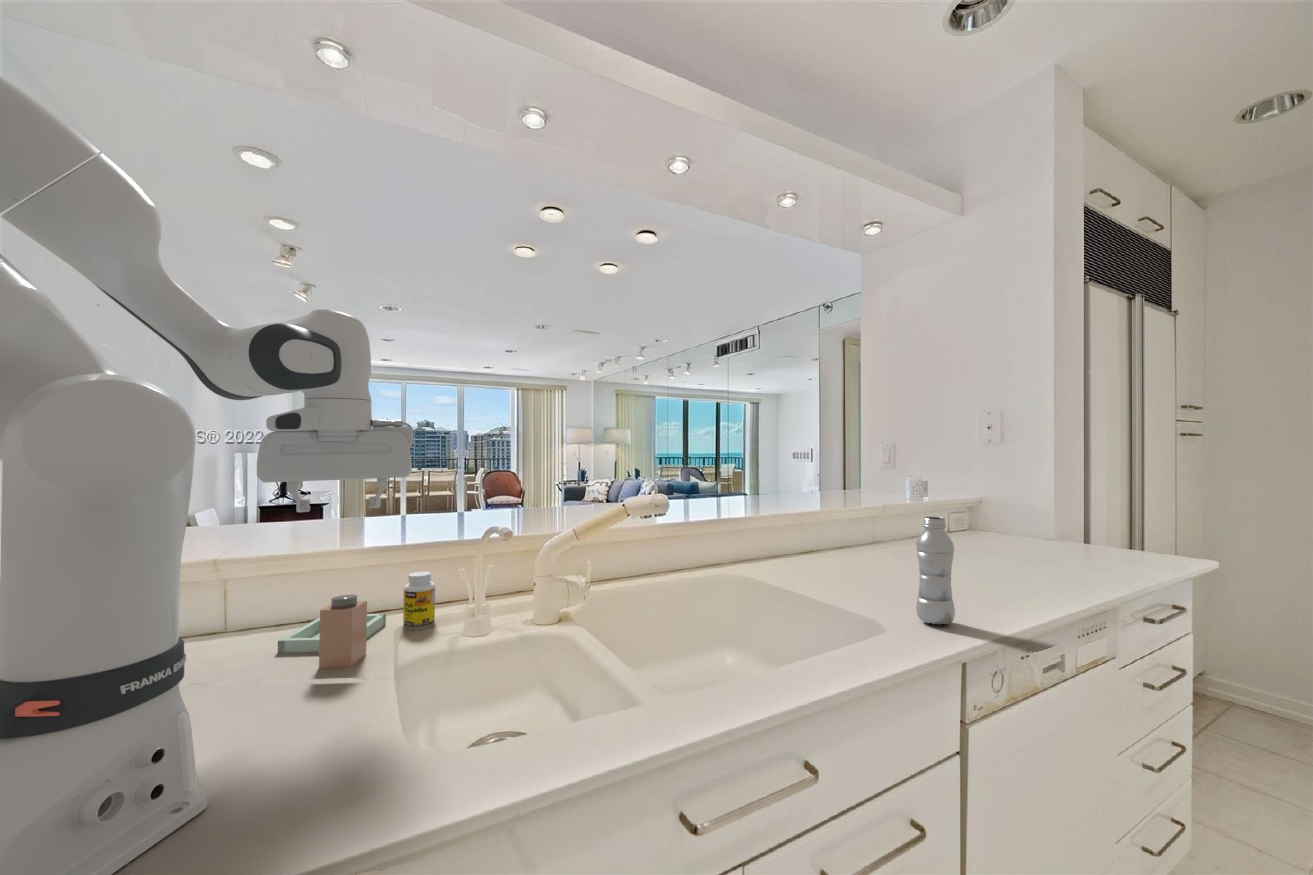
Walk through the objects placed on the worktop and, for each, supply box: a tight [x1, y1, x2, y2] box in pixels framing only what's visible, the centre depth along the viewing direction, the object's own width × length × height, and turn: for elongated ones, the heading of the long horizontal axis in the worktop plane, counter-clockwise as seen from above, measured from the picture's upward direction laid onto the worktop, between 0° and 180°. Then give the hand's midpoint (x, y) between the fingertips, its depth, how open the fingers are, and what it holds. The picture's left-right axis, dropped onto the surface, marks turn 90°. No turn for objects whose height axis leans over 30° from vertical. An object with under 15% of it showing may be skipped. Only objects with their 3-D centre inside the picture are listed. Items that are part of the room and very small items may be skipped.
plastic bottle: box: [915, 516, 956, 625], centre depth 100 cm, size 6×7×20 cm
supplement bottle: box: [402, 571, 436, 629], centre depth 97 cm, size 5×5×10 cm
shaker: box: [318, 594, 368, 669], centre depth 80 cm, size 5×5×10 cm
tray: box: [277, 613, 387, 654], centre depth 90 cm, size 13×11×2 cm
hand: (339, 509), depth 80 cm, fingers open, 8 cm apart
